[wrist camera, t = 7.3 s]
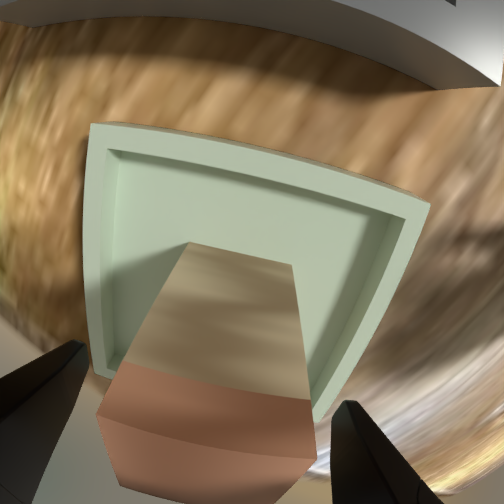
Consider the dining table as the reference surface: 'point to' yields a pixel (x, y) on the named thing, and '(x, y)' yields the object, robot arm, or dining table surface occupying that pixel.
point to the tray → (240, 237)
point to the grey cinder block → (333, 28)
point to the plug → (214, 386)
